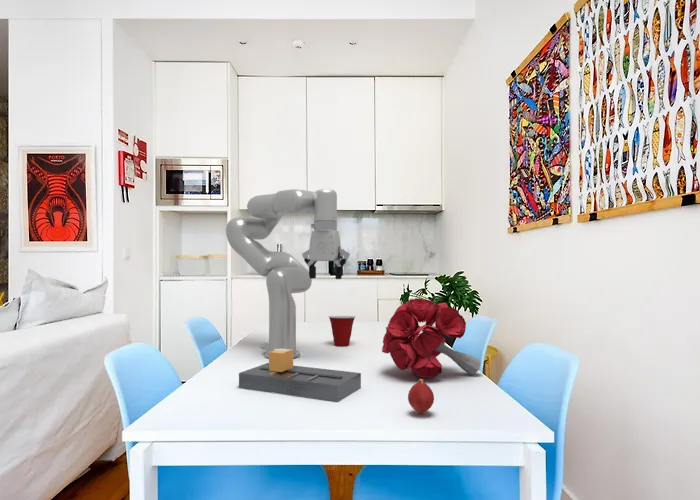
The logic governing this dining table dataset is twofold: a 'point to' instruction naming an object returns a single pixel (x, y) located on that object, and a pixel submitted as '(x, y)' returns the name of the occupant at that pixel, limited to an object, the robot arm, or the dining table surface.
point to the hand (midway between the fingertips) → (325, 278)
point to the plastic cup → (341, 329)
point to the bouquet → (425, 338)
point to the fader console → (302, 382)
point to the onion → (420, 397)
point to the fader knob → (280, 360)
